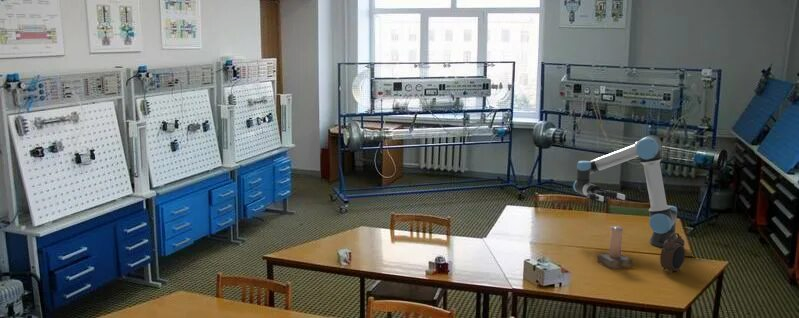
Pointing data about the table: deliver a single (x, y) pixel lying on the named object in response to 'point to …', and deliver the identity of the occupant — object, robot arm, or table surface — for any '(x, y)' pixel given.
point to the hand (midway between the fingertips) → (613, 198)
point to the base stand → (614, 261)
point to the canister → (615, 242)
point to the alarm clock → (673, 253)
